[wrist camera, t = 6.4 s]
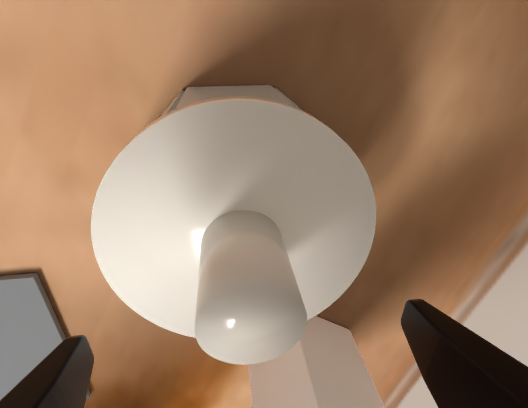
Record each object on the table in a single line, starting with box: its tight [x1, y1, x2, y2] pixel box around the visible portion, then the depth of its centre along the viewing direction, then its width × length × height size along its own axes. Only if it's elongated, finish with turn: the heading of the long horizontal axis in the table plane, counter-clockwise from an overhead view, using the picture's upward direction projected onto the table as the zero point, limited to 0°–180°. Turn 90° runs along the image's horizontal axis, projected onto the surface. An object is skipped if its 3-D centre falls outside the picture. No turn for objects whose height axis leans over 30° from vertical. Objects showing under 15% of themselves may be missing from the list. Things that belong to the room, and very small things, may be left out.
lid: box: [91, 96, 376, 364], centre depth 11 cm, size 11×11×5 cm
